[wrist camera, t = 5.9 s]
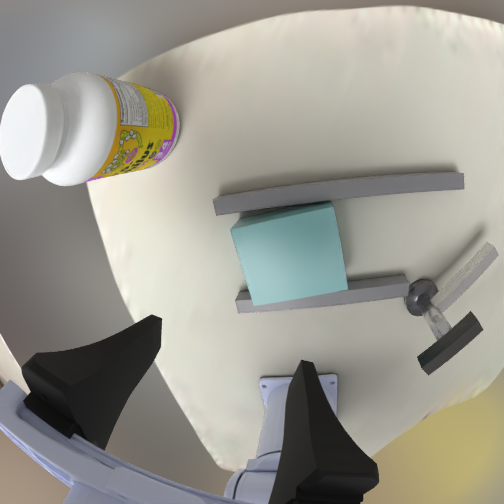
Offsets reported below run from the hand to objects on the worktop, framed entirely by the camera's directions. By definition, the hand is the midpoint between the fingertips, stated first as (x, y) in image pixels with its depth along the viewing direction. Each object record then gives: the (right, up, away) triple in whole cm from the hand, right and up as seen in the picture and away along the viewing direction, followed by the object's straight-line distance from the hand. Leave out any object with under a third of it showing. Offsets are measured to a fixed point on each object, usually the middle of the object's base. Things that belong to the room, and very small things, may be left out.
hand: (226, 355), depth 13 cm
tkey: (+17, +3, +6) cm, 19 cm away
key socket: (+16, +1, +8) cm, 18 cm away
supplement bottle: (-7, +15, +7) cm, 18 cm away
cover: (+4, +6, +9) cm, 11 cm away
